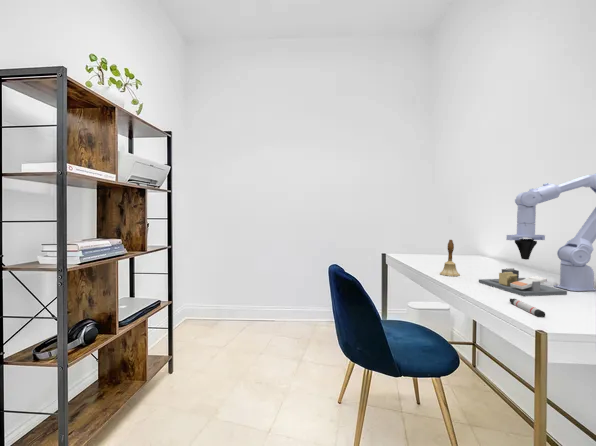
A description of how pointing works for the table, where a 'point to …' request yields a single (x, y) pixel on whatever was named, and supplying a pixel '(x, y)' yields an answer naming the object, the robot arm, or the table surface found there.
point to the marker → (527, 308)
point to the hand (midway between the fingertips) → (525, 259)
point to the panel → (531, 291)
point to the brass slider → (507, 278)
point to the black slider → (511, 271)
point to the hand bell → (450, 262)
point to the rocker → (527, 282)
